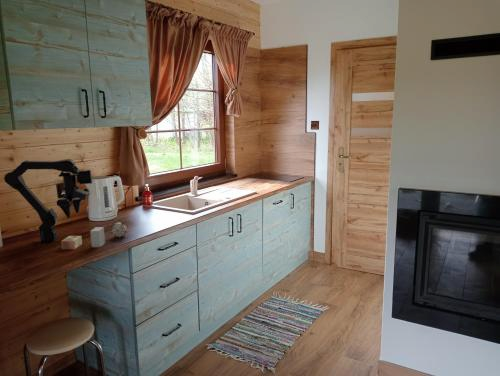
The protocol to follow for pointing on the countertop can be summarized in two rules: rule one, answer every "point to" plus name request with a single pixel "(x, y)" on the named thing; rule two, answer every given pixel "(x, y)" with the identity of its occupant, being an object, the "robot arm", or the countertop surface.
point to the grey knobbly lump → (119, 229)
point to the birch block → (71, 242)
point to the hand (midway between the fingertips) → (73, 215)
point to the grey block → (97, 236)
